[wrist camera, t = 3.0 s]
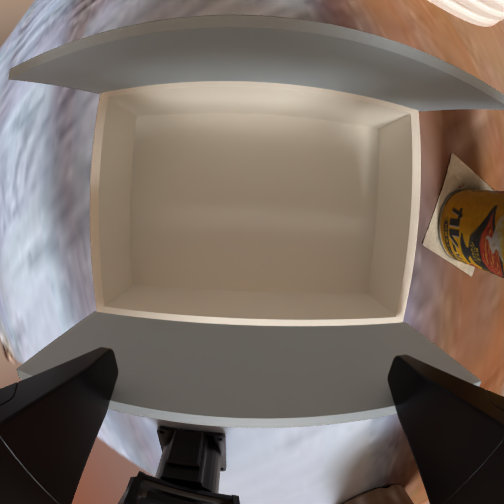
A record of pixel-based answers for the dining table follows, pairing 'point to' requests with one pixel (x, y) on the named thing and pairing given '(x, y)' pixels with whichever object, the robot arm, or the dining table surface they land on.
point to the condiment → (468, 222)
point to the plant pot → (383, 496)
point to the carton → (253, 204)
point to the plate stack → (474, 10)
